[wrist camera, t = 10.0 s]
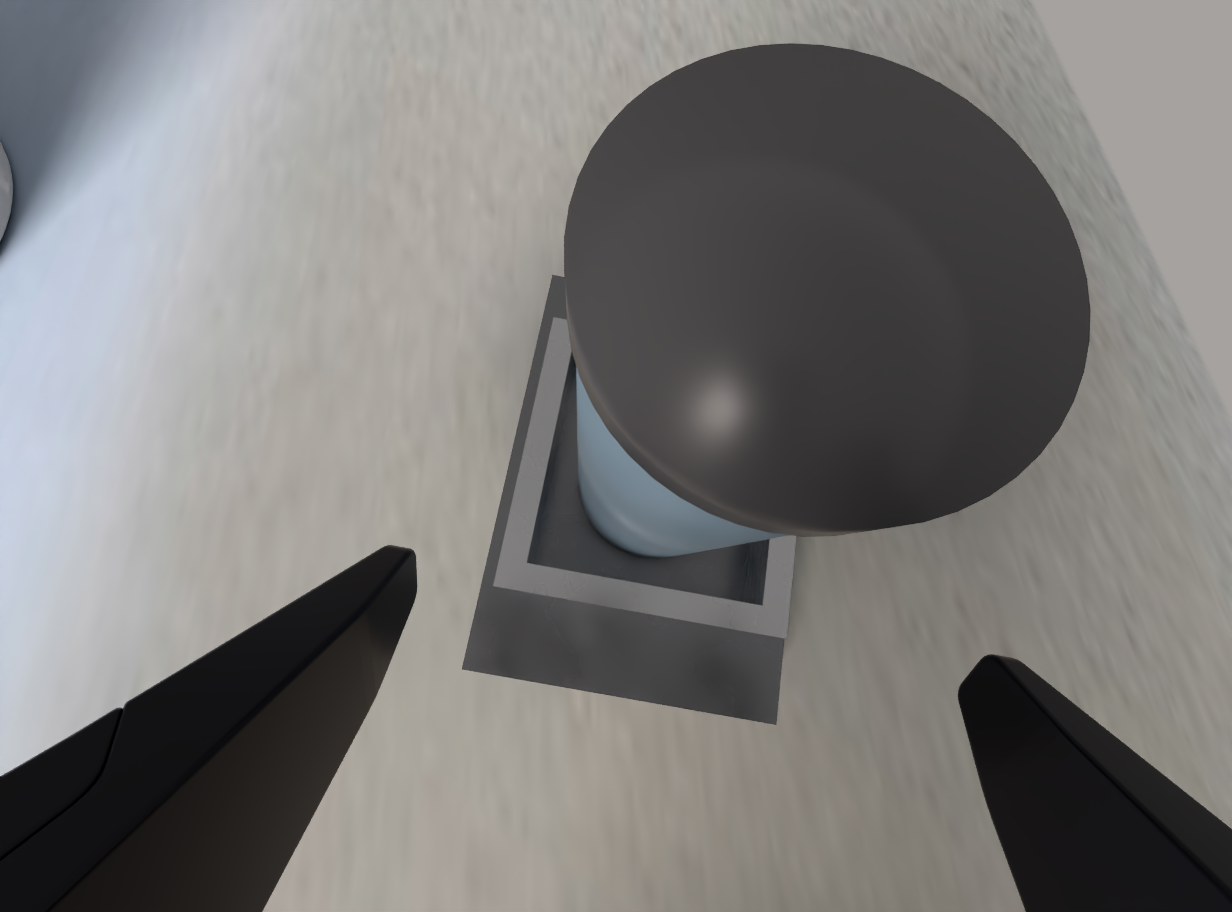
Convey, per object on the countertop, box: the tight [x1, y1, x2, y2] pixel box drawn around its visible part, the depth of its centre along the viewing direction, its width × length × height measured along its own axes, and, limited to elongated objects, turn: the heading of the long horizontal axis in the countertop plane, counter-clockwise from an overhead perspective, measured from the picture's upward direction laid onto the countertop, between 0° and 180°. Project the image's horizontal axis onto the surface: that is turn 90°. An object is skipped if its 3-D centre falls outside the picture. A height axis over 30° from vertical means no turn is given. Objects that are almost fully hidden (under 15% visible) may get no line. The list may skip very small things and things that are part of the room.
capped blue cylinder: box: [564, 44, 1090, 559], centre depth 12 cm, size 5×5×13 cm
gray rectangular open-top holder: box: [462, 275, 796, 725], centre depth 18 cm, size 14×10×5 cm
